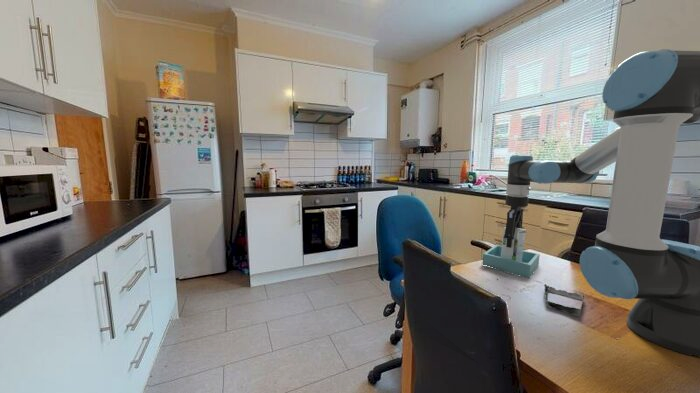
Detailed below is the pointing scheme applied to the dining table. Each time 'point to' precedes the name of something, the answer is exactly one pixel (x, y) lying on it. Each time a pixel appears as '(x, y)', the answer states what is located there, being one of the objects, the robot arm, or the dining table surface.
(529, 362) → the dining table surface
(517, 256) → the syrup box
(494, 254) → the box
